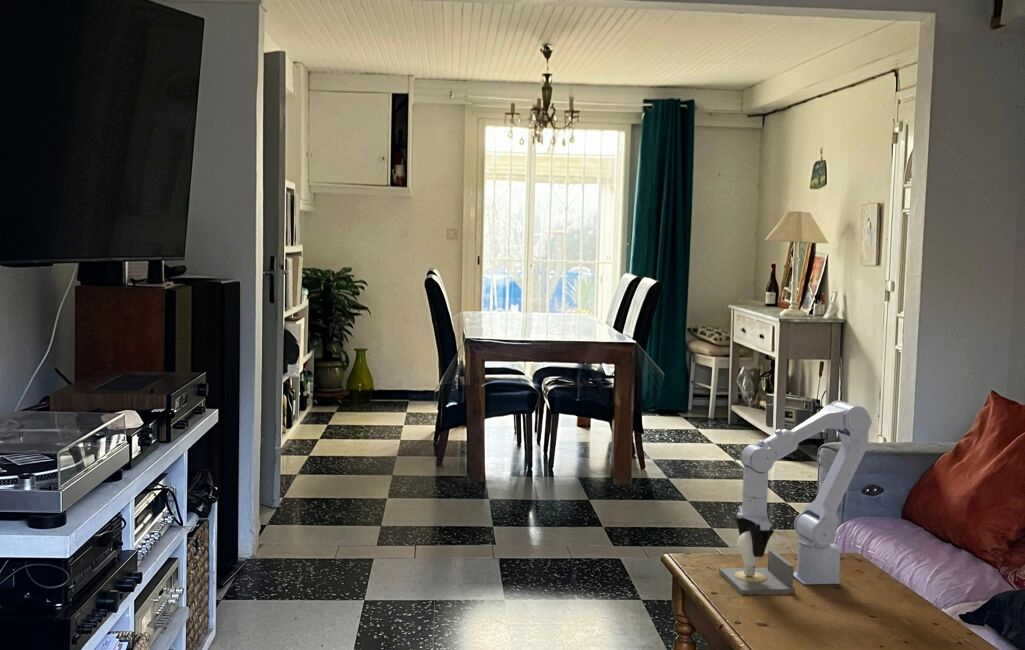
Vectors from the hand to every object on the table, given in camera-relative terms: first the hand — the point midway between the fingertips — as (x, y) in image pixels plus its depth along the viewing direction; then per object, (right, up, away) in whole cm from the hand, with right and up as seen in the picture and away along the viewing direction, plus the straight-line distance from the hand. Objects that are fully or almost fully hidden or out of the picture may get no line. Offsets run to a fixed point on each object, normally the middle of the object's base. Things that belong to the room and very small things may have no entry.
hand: (752, 551), depth 235 cm
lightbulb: (-1, -6, 0) cm, 6 cm away
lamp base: (+1, -8, 0) cm, 8 cm away
